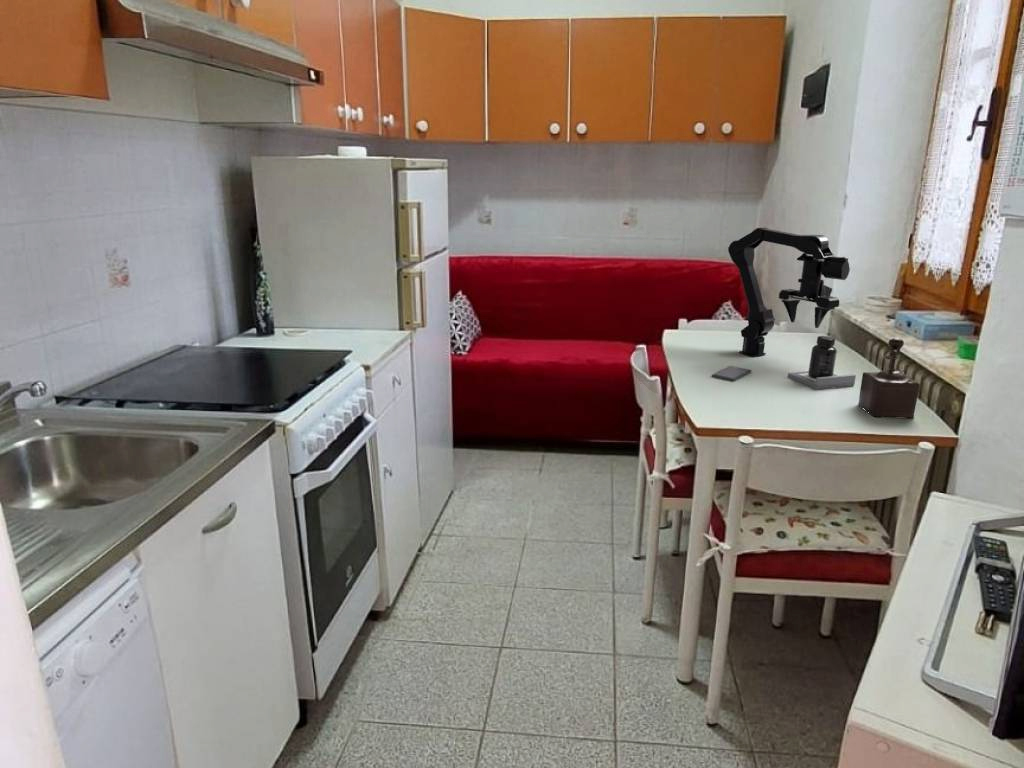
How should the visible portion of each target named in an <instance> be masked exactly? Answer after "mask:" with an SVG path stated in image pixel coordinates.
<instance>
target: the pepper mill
mask: <svg viewBox="0 0 1024 768" xmlns="http://www.w3.org/2000/svg"><path fill="white" fill-rule="evenodd" d="M887 343H888V344H887V345H888V346H889V347H890V352H889V354H888V355H883V356H882V359H884V360H889V361H891V362H890V367H889V369H888V368H887V369H883V370H880V371H879V372H877V371H876V372H873V371H872V372H871V371H869V372H867V371H866V372H865V371H864V372H863V373H862V376H861V377H862V378H861V382H860V383H861V384H860V390H859V396H858V397H859V398H858V406H859V405H860V406H861V407H862V408H864V409H865V410H866V411H867V412H869V413H870V414H871V416H872V415H873V416H876V417H875V418H882V417H906V418H905V419H914V418H915V411H916V406H917V400H918V397H919V396H918V395H919V392H920V391H919V390H920V383H918V382H917V381H915V380H914V379H913V377H911V376H910V375H908V374H906V373H907V370H906V369H905V370H903V371H900V370H898V369H896V368H895V367H896V366H895V365H896V361H897V360H898V356H901V349H902V348H903V346H904V340H903V339H902V338H899V337H898V338H897V337H893V338H891V339H889V340H888V342H887ZM860 406H859V407H860ZM861 407H860V408H861ZM862 408H861V409H862ZM865 410H864V411H865ZM866 411H865V412H866ZM867 412H866V413H867ZM869 413H868V414H869ZM870 414H869V415H870ZM873 416H872V417H873Z"/></svg>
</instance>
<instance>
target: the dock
mask: <svg viewBox="0 0 1024 768" xmlns="http://www.w3.org/2000/svg"><path fill="white" fill-rule="evenodd" d="M808 372H809V370H808V371H797V372H787V373H788V374H787V377H788V378H790V379H792V380H794V381H796V382H799V383H802V384H804V385H807V386H808V385H809V387H811V388H812V389H813V388H814V389H816V390H826V389H825V388H828V389H833V388H832V387H838V388H842V387H841V386H847V387H851V386H850V385H854V386H855V381H856V377H857V375H856V374H852V373H851V374H843V375H842V374H841V375H837V374H836V373H833V376H829V377H819V378H816V379H815V378H812V377H810V376H809V375H808Z"/></svg>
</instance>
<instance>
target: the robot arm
mask: <svg viewBox="0 0 1024 768" xmlns="http://www.w3.org/2000/svg"><path fill="white" fill-rule="evenodd" d="M763 242H767V243H772V244H776V245H777V244H778V245H782V246H787V247H790V248H791V247H792V248H794V249H796V250H797V251H799V252H801V253H802V254H801V255H800V256H799V257H796V261H801V262H803V264H802V271H801V277H800V278H798V279H797V281H798V283H800V284H799V290H798V289H795V288H793V289H792V288H788V289H787V288H786V289H781V290H780V292H779V293H778V299H780V301H781V302H782V303H783V305H784V307H785V309H786V312H787V314H788V317H789V320H790V323H795V322H796V321H795V320H796V317H797V308H798V305H799V304H800V302H801V301H805V302H811V303H815V304H816V306H815V307H814V327H815V329H818V328H819V327H820V326H821V323H822V321H823V320H824V319H825V316H826V315H827V314H828V312H830V311H831V310H834V309H836V308H839V306H840V300H839V298H838V297H836V296H831V294H832V293H833V288H832V287H829V286H827V285H825V284H824V282H825V281H824V279H822V276H823V277H824V278H825V279H832V280H841V281H845V280H846V279H848V276H849V274H850V269H851V267H850V262H849V257H848V256H847V257H846V256H842V257H841V256H835V254H834V253H833V251H832V249H831V247H830V245H829V244H830V243H829V239H828V238H827V236H825V235H823V234H796V233H792V232H787V231H782V230H777V229H770V228H767V227H757V228H755V229H754V230H753V231H751V232H750V233H748V234H746V235H745V236H743V237H741V238H739V239H737V240H733V241H732V242H731V243H730V244H729V246H728V247H727V251H728V254H729V257H730V259H731V262H733V263H734V265H735V266H736V267H737V269H738V272H739V275H740V279H741V283H742V286H743V290H744V294H745V298H746V302H747V305H748V316H747V324H748V325H746V326H745V327H744V328H742V329H741V330H740V335H741V338H743V340H742V349H741V350H738V353H740V354H743V355H745V356H748V357H752V358H753V357H760V356H766V355H767V353H766V352H765V344H766V343H765V336H766V337H767V335H769V334H768V333H769V332H771V331H772V329H773V328H774V326H775V321H776V319H775V317H774V314H773V309H772V308H769V309H768V308H767V307H766V306H765V304H764V300H763V297H762V293H761V290H760V285H759V282H758V278H757V274H756V271H755V268H754V261H755V260H754V259H755V249H757V247H759V246H760V245H761V244H762V243H763Z"/></svg>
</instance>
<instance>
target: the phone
mask: <svg viewBox="0 0 1024 768" xmlns="http://www.w3.org/2000/svg"><path fill="white" fill-rule="evenodd" d="M752 371H753V370H752V369H747V368H743V367H738V366H733V365H729V366H727V367H725V368H722V369H721V370H718V371H717V372H714V373H712V374H711V377H712V378H714V377H715V378H714V379H719V378H721V379H720V380H725V381H728V380H729V382H735V381H738V380H740V379H741V378H744V377H745V376H748V375H749V374H752Z"/></svg>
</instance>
